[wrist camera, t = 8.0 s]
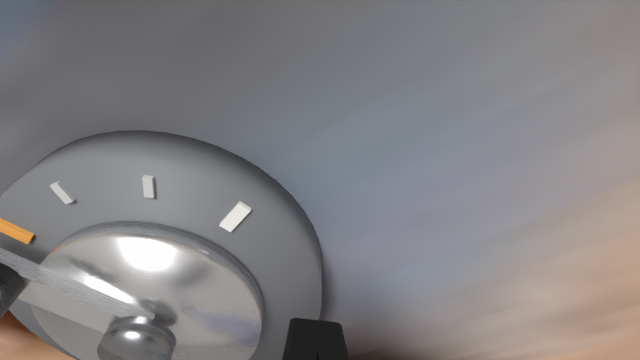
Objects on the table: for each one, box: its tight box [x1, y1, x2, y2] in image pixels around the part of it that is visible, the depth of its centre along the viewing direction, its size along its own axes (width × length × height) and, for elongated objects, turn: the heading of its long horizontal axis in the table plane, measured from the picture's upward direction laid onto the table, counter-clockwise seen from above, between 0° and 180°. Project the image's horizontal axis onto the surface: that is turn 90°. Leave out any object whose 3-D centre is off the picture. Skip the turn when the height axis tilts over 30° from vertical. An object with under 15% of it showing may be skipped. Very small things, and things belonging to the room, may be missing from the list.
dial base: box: [0, 131, 322, 360], centre depth 22 cm, size 17×17×3 cm
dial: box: [0, 221, 264, 360], centre depth 18 cm, size 14×11×6 cm
